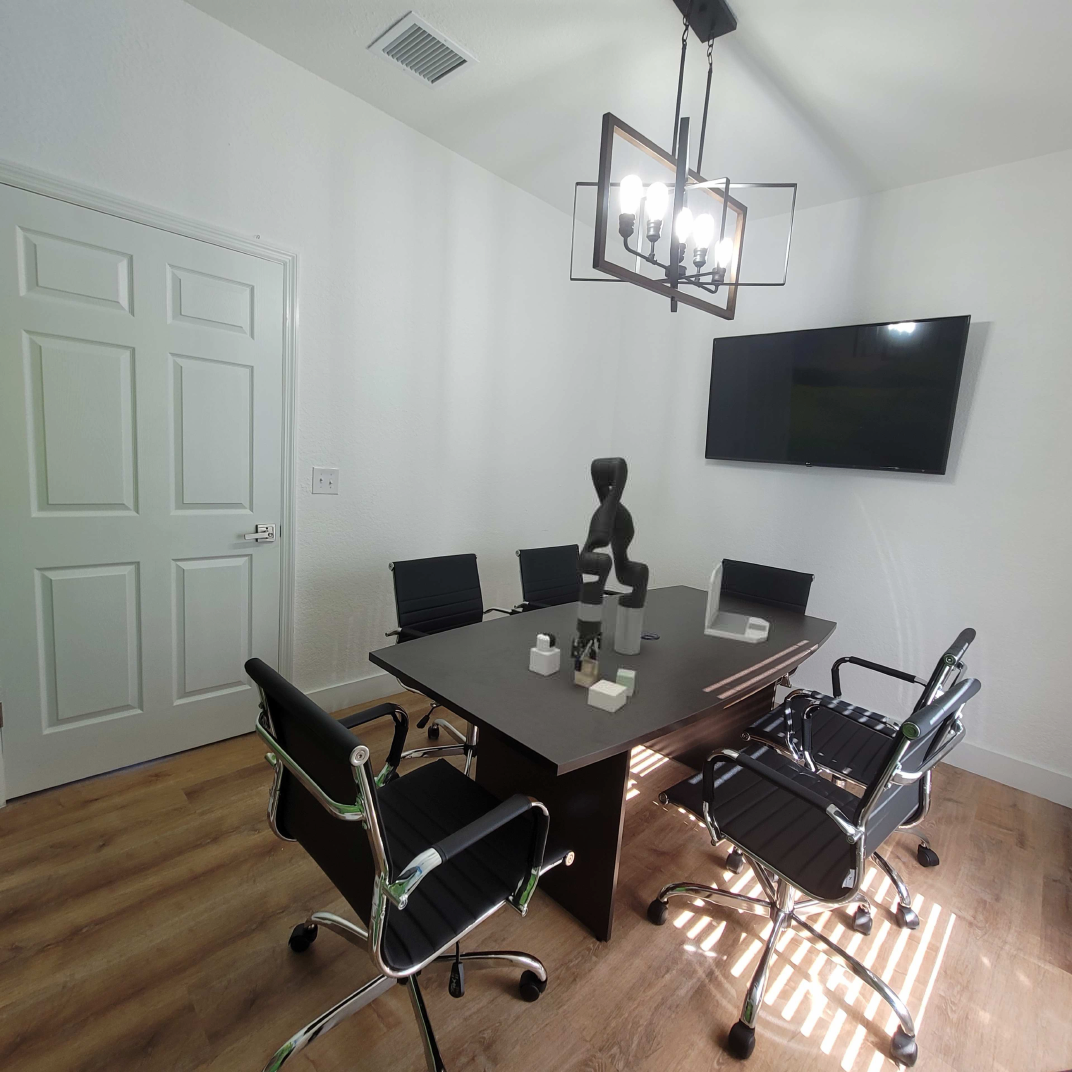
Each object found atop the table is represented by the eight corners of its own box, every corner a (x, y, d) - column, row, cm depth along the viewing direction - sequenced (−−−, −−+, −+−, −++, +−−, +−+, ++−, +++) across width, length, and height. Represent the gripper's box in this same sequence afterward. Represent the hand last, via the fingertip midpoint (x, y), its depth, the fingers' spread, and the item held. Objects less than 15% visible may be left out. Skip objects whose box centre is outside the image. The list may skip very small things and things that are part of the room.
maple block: (582, 678, 173) (584, 657, 172) (596, 682, 170) (598, 661, 169) (574, 682, 169) (575, 661, 168) (588, 687, 166) (589, 665, 165)
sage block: (617, 687, 168) (619, 668, 167) (633, 689, 166) (635, 671, 166) (615, 693, 163) (616, 674, 162) (631, 696, 162) (633, 677, 161)
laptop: (765, 646, 217) (774, 581, 214) (703, 634, 227) (710, 572, 224) (769, 625, 247) (777, 568, 244) (714, 615, 257) (720, 560, 254)
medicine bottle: (542, 664, 182) (544, 629, 180) (559, 670, 178) (562, 635, 176) (528, 669, 177) (531, 634, 175) (545, 676, 172) (548, 640, 170)
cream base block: (600, 695, 161) (602, 679, 161) (625, 703, 157) (627, 687, 156) (587, 704, 155) (589, 687, 154) (613, 713, 150) (614, 696, 150)
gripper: (591, 609, 174) (586, 658, 176) (566, 618, 163) (562, 669, 165) (611, 615, 170) (607, 664, 172) (588, 623, 158) (583, 677, 161)
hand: (585, 667), depth 168 cm, fingers open, 8 cm apart
